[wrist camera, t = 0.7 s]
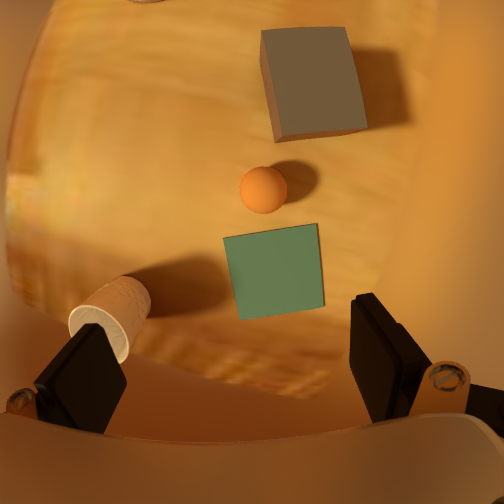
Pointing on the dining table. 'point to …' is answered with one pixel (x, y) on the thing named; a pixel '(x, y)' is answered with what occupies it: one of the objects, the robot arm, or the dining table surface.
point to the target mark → (275, 271)
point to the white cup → (115, 313)
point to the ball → (263, 190)
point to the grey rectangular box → (311, 83)
